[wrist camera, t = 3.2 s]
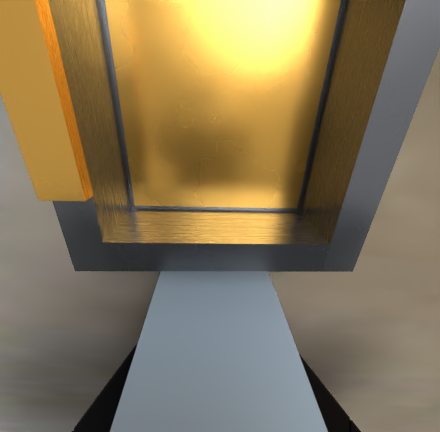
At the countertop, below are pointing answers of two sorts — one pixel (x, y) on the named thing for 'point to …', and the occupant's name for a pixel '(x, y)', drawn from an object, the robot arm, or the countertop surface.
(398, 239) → the countertop surface
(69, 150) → the rack
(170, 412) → the pale blue upright block
